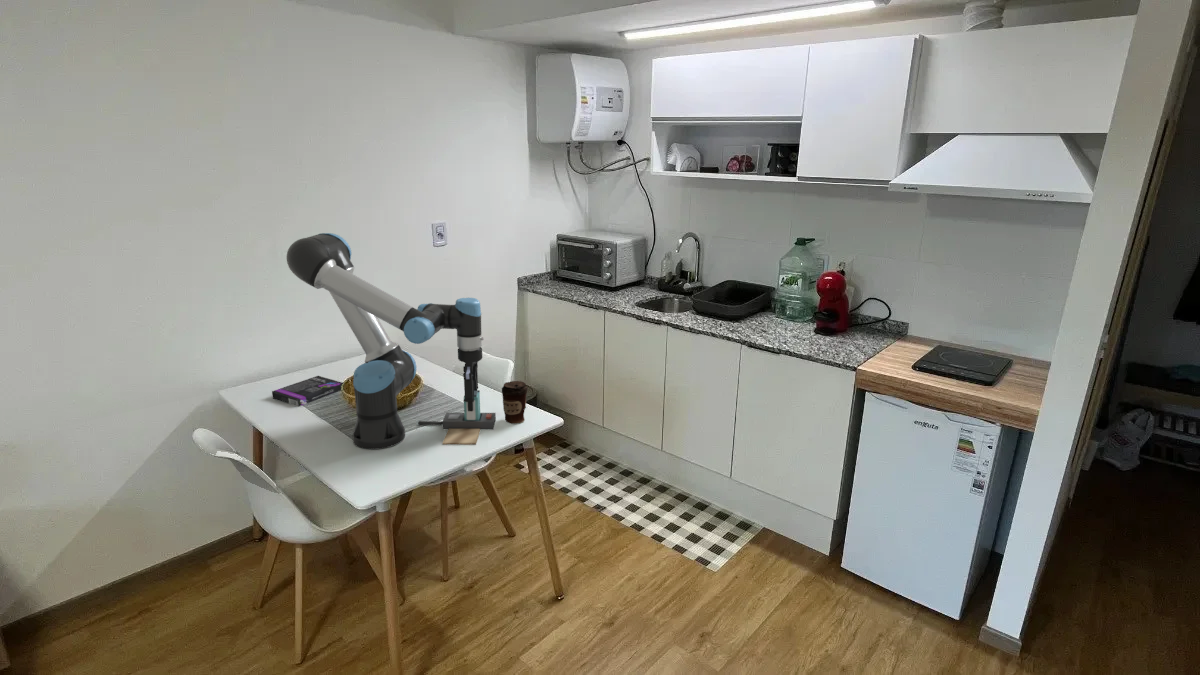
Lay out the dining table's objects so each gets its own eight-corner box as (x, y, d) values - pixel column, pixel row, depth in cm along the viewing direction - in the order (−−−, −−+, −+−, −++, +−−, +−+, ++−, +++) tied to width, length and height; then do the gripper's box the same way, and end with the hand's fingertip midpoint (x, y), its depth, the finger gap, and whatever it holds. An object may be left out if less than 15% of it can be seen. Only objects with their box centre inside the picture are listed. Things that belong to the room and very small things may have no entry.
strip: (415, 429, 200) (414, 419, 199) (420, 420, 206) (419, 410, 205) (493, 429, 201) (492, 419, 200) (495, 420, 207) (495, 411, 206)
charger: (464, 426, 201) (463, 395, 198) (467, 420, 206) (465, 390, 203) (478, 426, 202) (477, 395, 199) (480, 420, 206) (479, 390, 203)
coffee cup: (522, 427, 203) (522, 390, 199) (498, 424, 204) (497, 387, 201) (530, 416, 211) (530, 380, 207) (507, 414, 213) (506, 378, 209)
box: (298, 409, 215) (345, 390, 231) (297, 400, 214) (344, 381, 230) (272, 400, 221) (319, 382, 237) (271, 391, 220) (318, 373, 236)
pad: (442, 444, 190) (442, 442, 190) (448, 430, 200) (448, 428, 199) (475, 444, 191) (475, 442, 190) (480, 430, 200) (480, 428, 200)
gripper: (477, 356, 188) (480, 427, 195) (485, 339, 205) (487, 405, 211) (452, 356, 188) (456, 427, 194) (462, 339, 204) (465, 405, 211)
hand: (472, 415), depth 203 cm, fingers closed on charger, 4 cm apart
